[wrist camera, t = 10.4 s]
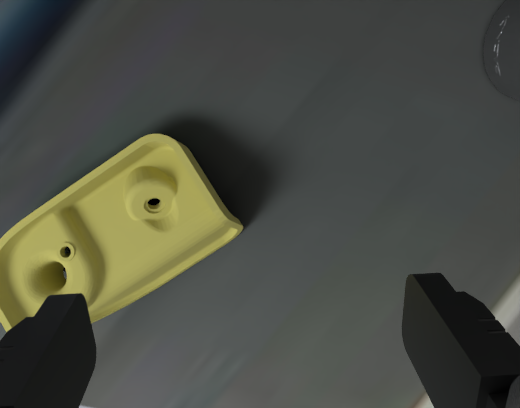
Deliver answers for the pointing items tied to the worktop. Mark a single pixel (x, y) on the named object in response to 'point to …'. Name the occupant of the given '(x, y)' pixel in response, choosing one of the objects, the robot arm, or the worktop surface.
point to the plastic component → (115, 233)
